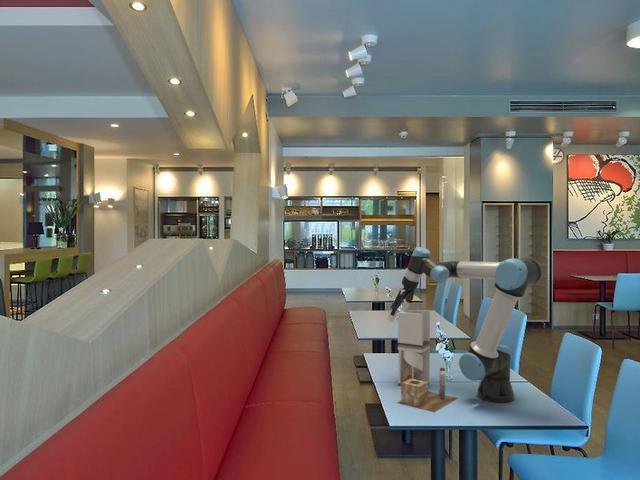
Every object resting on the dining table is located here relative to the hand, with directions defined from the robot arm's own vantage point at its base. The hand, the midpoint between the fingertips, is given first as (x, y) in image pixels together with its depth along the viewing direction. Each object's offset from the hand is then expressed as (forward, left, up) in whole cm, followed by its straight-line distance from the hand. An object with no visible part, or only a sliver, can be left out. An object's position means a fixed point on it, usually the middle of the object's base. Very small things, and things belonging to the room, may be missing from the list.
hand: (396, 317), depth 250 cm
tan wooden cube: (-25, +27, -29) cm, 47 cm away
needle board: (-28, +22, -30) cm, 47 cm away
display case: (-13, +6, -31) cm, 34 cm away
